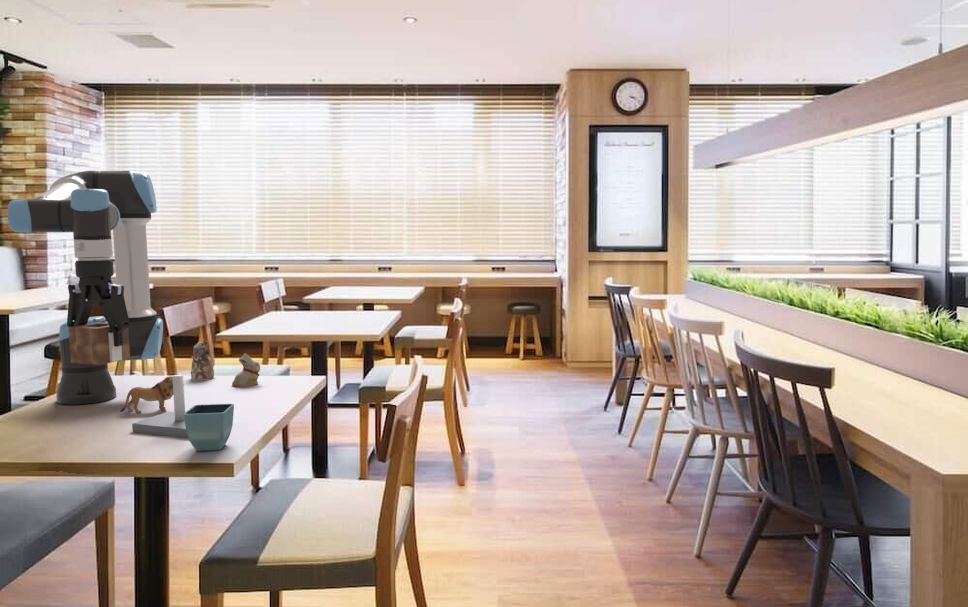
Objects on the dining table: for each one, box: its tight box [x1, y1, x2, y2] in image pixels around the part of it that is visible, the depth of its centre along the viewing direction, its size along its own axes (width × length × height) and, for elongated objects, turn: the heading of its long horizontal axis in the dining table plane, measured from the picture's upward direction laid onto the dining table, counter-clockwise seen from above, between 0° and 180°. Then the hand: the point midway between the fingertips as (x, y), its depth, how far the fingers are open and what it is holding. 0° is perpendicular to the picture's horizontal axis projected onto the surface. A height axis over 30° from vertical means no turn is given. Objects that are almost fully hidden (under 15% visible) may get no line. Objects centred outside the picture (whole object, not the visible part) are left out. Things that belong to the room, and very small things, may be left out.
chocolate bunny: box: [231, 353, 261, 388], centre depth 228 cm, size 6×8×10 cm
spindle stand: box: [131, 374, 188, 438], centre depth 179 cm, size 18×12×13 cm, turn 71°
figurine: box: [190, 340, 215, 381], centre depth 239 cm, size 7×7×12 cm
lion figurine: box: [119, 375, 174, 414], centre depth 196 cm, size 15×5×9 cm, turn 113°
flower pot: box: [183, 403, 235, 452], centre depth 163 cm, size 9×9×9 cm
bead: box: [68, 322, 130, 365], centre depth 166 cm, size 8×8×8 cm
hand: (100, 359), depth 166 cm, fingers closed on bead, 8 cm apart
